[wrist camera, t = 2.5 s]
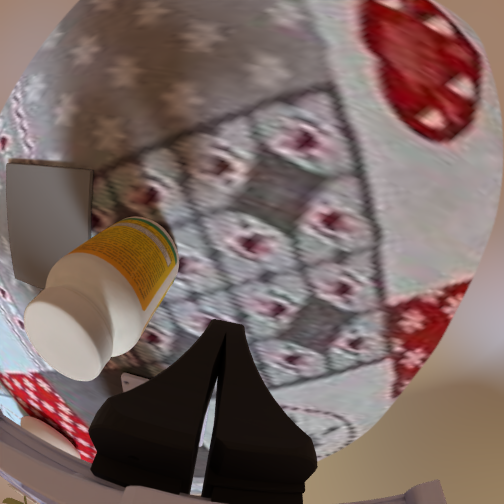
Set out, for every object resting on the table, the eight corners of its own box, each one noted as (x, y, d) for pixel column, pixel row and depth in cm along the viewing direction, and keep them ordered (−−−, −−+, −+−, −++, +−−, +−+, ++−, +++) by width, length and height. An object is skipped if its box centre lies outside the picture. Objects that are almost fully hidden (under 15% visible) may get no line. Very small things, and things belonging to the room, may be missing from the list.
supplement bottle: (176, 299, 19) (122, 409, 10) (106, 280, 19) (28, 367, 10) (186, 223, 17) (111, 311, 8) (108, 206, 17) (2, 269, 8)
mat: (94, 303, 20) (92, 306, 19) (17, 276, 19) (15, 278, 19) (93, 170, 16) (90, 171, 16) (9, 162, 16) (6, 163, 15)
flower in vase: (27, 425, 31) (-24, 521, 8) (23, 399, 28) (-44, 515, 4) (89, 464, 33) (50, 569, 10) (97, 447, 30) (48, 578, 6)
